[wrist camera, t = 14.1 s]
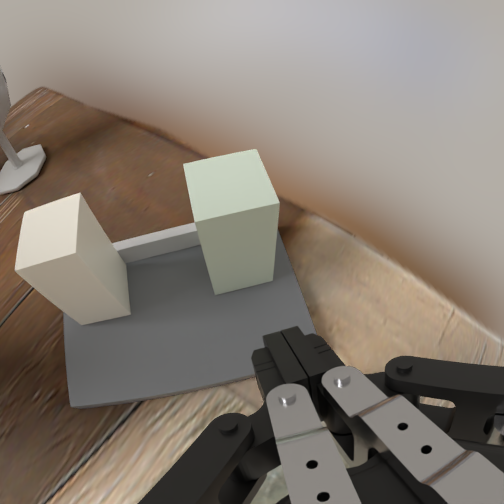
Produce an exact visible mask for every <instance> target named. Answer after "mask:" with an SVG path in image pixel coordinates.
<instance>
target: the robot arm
mask: <svg viewBox="0 0 504 504" xmlns="http://www.w3.org/2000/svg"><path fill="white" fill-rule="evenodd" d="M262 337H263V343H264V348H260V349H257V350H254V351H253V354H252V357H251V360H252V364H253V368H254V372H255V376H256V379H257V383H258V387H259V390H260V393H261V395H262V398H263V401H264V404H263V406H262V407H261V408H260V409H259V410H258V411H257V412H255V413H254V414H252V415H250V416H248V417H247V416H245V415H243V414H240V413H228V414H224V415H221V416H219V417H217V418H215V419H214V420H213V421H212V422H211V423H210V424H209V425H208V426H207V428H206V429H205V430H204V431H203V432H202V433H201V435H200V436H199V437H198V438H197V439H196V440H195V442H194V443H193V444H192V445H191V446H190V447H189V448H188V450H187V451H186V452H185V453H184V454H183V455H182V456H181V457H180V459H179V460H178V461H177V462H176V463H175V464H174V465H173V466H172V468H171V469H170V470H169V471H168V472H167V473H166V474H165V475H164V476H163V477H162V478H161V480H160V481H159V482H158V483H157V484H156V485H155V486H154V487H153V488H152V489H151V490H150V491H149V492H148V493H147V494H146V495H145V497H144V498H143V499H142V500H141V501H140V502H139V503H138V504H250V503H251V502H252V500H253V499H254V497H255V496H256V494H257V492H258V491H259V489H260V488H261V486H262V484H263V483H264V481H265V479H266V477H267V473H268V472H270V471H271V470H273V469H275V468H276V467H278V466H280V465H282V469H283V473H284V477H285V481H286V485H287V489H288V493H289V494H288V495H287V496H285V497H284V498H282V499H281V500H279V501H278V502H277V503H276V504H504V367H499V366H488V365H478V364H468V363H459V362H451V361H442V360H435V359H427V358H420V357H413V356H400V357H396V358H394V359H392V360H390V361H389V362H388V363H387V364H386V366H385V372H380V373H374V374H362V373H361V372H360V371H359V370H358V369H356V368H354V367H350V366H345V365H344V363H343V362H342V361H341V360H340V358H339V357H338V356H337V355H336V354H335V352H334V351H333V350H331V348H330V346H329V345H327V343H326V342H325V340H324V339H323V338H322V337H320V336H318V335H316V334H314V333H311V334H308V335H304V334H303V332H302V331H301V330H300V328H299V327H298V326H295V327H291V328H288V329H284V330H281V331H278V332H274V333H270V334H267V335H263V336H262ZM420 396H424V397H430V398H436V399H443V400H449V401H451V402H453V403H454V404H455V406H456V407H454V408H446V407H439V406H433V405H427V404H421V403H420ZM322 421H324V422H325V424H326V427H323V426H322V424H321V422H322ZM338 451H339V452H338ZM339 453H340V454H341V455H342V457H343V458H344V460H345V461H346V462H347V464H348V465H349V467H350V468H345V466H344V463H343V461H342V459H341V457H340V454H339Z"/></svg>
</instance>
